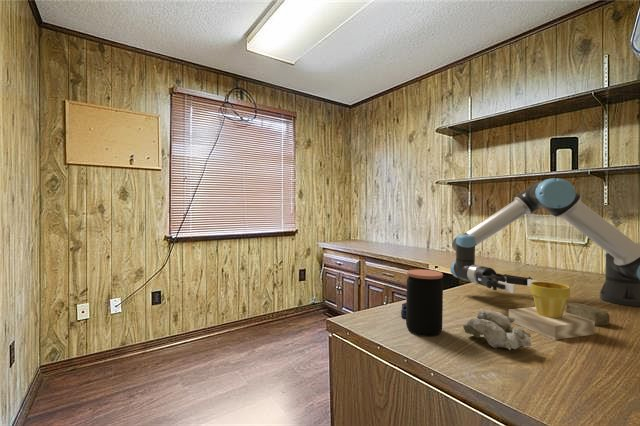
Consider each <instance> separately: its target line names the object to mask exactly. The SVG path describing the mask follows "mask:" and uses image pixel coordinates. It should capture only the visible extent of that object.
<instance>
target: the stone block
mask: <svg viewBox="0 0 640 426" xmlns="http://www.w3.org/2000/svg"><path fill="white" fill-rule="evenodd" d="M565 308H566V309H565V312H566V313H569V314H573V315H576V316H579V317H582V318H586V319H589V320H592V321H595V326H597V327H600V326H601V327H603V326H605V327H606V326H608V325H610V321H611V320H610V314H609V312H607V311H606V310H604V309H600V308H598V307H594V306H590V305H587V304H583V303H580V302H579V303H578V302H566V307H565Z"/></svg>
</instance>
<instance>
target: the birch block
mask: <svg viewBox="0 0 640 426" xmlns="http://www.w3.org/2000/svg"><path fill="white" fill-rule="evenodd" d="M508 317H511V318H514V319H515V321H514V322H513V323H512V324H514V325H516V326H518V327H521V328H524V329H527V330H530V331H532V332H534V333H537V334H540V335H541V336H545V337H546V338H550V339H552V340H554V341H555V340H563V339H569V338H571V339H572V338H577V337H578V338H579V337H585V336H591V335H592V336H593V335H595V331H596V330H595V326H596V325H595V321H592V320H589V319H586V318H582V317H579V316H576V315H573V314H569V313H566V311H564V312H563V316H562V317H561V318H550V317H545V316H541V315H539V314H538V313H537V310H536V306H532V307H521V308H512V309H511V308H509V309H508Z"/></svg>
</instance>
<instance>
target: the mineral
mask: <svg viewBox="0 0 640 426" xmlns="http://www.w3.org/2000/svg"><path fill="white" fill-rule="evenodd" d="M514 321H515V319H514V318H511V317H509V316H507V315H504V314H503V313H502V312H498V311H493V310H491V309H484V308H480V310H478V311H477V314H476V318H469V319H468V320H467V321H466V322H464V323H463V325H462V327H463V331H464V333H466V334H469V335H473V337H475V338H476V339H477V338H479V339H480V336H484V338H485V340H486V341H487V344H488V345H489V346H491V347H492V348H494V349H498V348H505V349H508V350H509V351H511V349H512V350H517V349H520V348H521V347H530V346H532V341H531V339H530V338H531V337H532V335H531V334H530V333H529V332H528V331H526V330H525V328H524V329H523V327H521V326H519V325H513V326H512V324H514V323H513V322H514Z"/></svg>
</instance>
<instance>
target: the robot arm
mask: <svg viewBox="0 0 640 426" xmlns="http://www.w3.org/2000/svg"><path fill="white" fill-rule="evenodd" d="M513 199H514V200H513V201H512V202H510V203H509V204H506V205H505V206H504V207H502V208H500V209H499V210H497V211H496V212H495V213H493V214H492V215H490V216H488V217H487V218H486V219H484V220H482V221H480V222H479V223H478V224H476V225H475V226H473V227H472V228H470V229H469V230H467V231H466V232H465V233H463V234H458V235H456V237H455V238H453V240H452V243H451V245H452V249H453V250H454V251H455V261H452V263H451V265H450V273H451V274H452V276H453V277H454V278H457V279H460V280H462V281H463V280H464V281H466V282H471V283H475V286H476V285H481V286H483V287H486V288H488V289H492V291H497V289H498V290H499V291H500V290H501V291H505V292H508V293H511V294H516V285H519V286H527V287H528V288H530V283H531V282H537V281H538V280H535V279H533V278H532V277H531V276H528V277H526V276H517V275H511V274H506V273H504V274H502V273H497V272H496V270H495V269H494V268H492V267H488V266H484V265H479V264H476V246H478V245H479V244H480V243H483V242H484V241H485V240H488V239H489V238H490V237H492V236H493V235H495V234H497V233H498V232H500V231H501V230H503V229H504V228H506V227H507V226H509V225H511V224H513V222H515V221H516V222H517V220H519V219H520V218H522V217H523V216H525V215H531V214H532V213H534V212H537V211H538V210H541V209H545V210H546V211H547V212H548V213H550V214H551V215H552V216H553V217H555V218H563V219H564V220H565V221H567V222H568V224H570V225H572V226H573V227H574V228H576V229H577V230H578V231H579V232H581V234H583V235H585V236H586V237H587V238H588V239H589V240H590V241H592V242H593V243H595V244H596V245H597V246H599V247H600V248H601V249H602V250H603V251H605V253H604V254H605V255H604V256H605V275H604V276H605V278H604V280H605V281H604V282H603V285H602V288H601V289H600V291H599V299H601V300H602V301H605V302H609V303H612V304H617V305H623V306H630V307H640V242H635V241H634V240H632V239H631V238H630V237H628V235H626V234H624V233H623V232H622V231H620V230H619V229H618V228H617V227H615V226H614V225H612V224H611V223H610V222H608V221H607V220H606V219H605V218H604V217H602V216H601V215H599V213H597V212H595V211H594V210H593V209H592V208H591V207H589V206H587V205H586V204H585V203H584V202H582V195H580V194H579V193H578V192H576V189H575V187H574V185H573V184H572V183H571V182H569V181H568V180H566V179H563V178H555V177H552V178H548V179H544V180H541V181H536V182H534V183H533V184H531V185H530V186H528V187H527V188H526V189H524V190H523V191H521V193H519V194H518V195H516V196H515V197H514V198H513Z"/></svg>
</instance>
